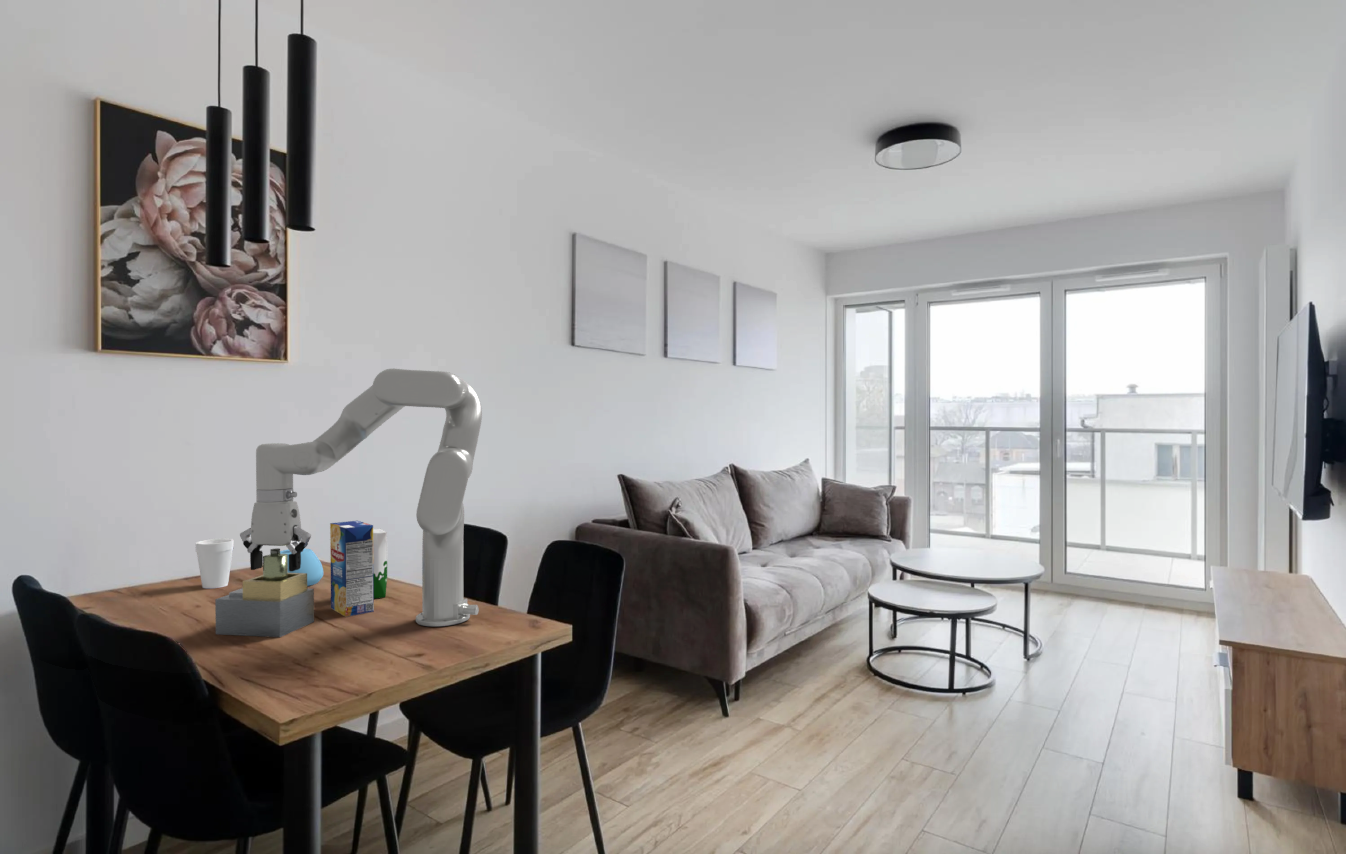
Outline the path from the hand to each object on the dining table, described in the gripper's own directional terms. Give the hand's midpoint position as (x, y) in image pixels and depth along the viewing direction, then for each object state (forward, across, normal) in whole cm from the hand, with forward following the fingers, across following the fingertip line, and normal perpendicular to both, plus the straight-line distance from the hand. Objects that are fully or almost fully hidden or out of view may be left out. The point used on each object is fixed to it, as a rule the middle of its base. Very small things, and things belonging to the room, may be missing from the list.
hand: (275, 569), depth 166 cm
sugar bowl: (+14, +24, -41) cm, 50 cm away
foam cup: (+14, +46, -35) cm, 59 cm away
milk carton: (+14, -6, -30) cm, 34 cm away
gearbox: (+14, +2, 0) cm, 14 cm away
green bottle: (+6, 0, 0) cm, 6 cm away
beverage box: (+14, -8, -17) cm, 24 cm away
